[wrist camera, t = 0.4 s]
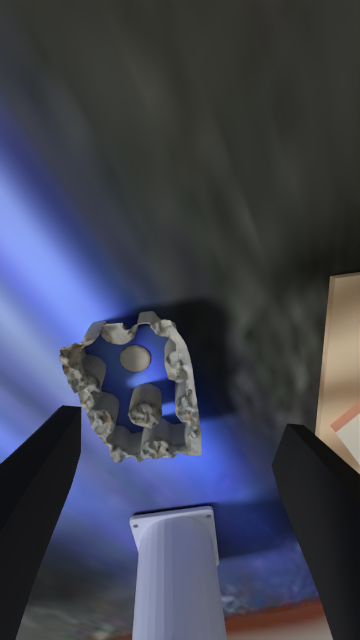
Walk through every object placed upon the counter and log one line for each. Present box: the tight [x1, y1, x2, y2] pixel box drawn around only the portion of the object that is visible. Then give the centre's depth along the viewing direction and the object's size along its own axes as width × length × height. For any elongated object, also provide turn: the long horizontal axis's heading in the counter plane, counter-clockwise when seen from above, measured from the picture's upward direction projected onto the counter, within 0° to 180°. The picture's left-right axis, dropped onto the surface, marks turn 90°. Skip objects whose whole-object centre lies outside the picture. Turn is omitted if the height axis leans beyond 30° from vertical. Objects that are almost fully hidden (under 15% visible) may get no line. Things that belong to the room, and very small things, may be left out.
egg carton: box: [60, 311, 202, 463], centre depth 19 cm, size 11×8×4 cm
